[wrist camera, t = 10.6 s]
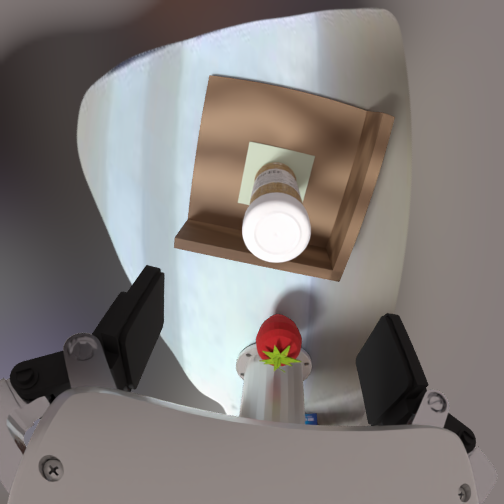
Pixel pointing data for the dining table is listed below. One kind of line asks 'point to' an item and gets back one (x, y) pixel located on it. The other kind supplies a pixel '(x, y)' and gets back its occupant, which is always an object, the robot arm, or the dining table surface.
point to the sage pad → (268, 154)
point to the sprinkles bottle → (276, 216)
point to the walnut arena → (292, 138)
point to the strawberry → (278, 341)
